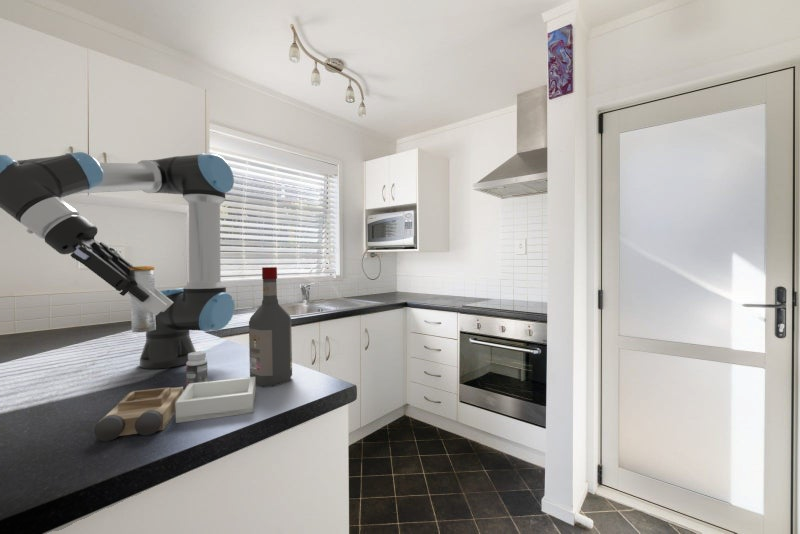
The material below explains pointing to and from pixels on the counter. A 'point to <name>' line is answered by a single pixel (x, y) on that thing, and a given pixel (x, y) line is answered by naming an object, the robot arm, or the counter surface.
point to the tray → (216, 399)
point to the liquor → (270, 336)
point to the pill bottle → (196, 368)
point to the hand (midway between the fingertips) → (165, 308)
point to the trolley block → (139, 413)
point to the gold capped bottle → (140, 314)
